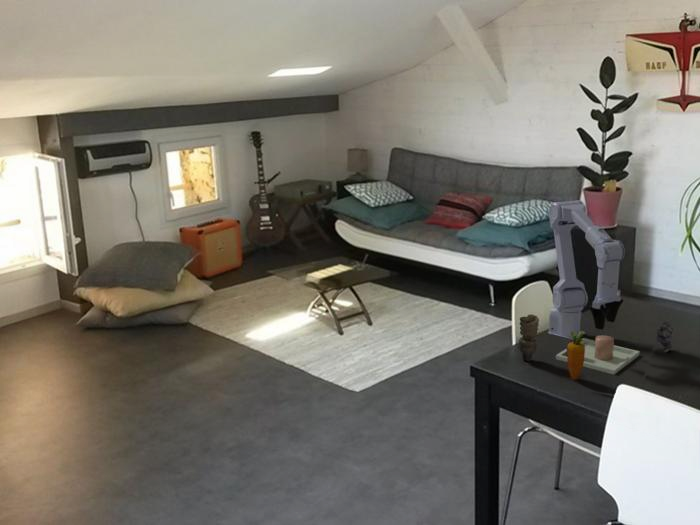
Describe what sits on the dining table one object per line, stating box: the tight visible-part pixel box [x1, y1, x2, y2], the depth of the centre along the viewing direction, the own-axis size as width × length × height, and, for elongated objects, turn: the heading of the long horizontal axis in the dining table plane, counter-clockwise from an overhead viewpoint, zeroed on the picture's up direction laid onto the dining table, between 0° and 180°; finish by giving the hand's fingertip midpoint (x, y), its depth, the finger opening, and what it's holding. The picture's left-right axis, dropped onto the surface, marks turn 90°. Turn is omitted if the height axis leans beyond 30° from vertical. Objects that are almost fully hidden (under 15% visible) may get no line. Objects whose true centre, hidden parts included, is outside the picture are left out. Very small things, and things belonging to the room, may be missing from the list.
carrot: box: [566, 331, 585, 381], centre depth 202 cm, size 5×5×15 cm
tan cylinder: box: [594, 335, 615, 361], centre depth 217 cm, size 5×5×6 cm
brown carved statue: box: [518, 314, 540, 362], centre depth 216 cm, size 6×6×15 cm
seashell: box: [655, 320, 676, 353], centre depth 221 cm, size 5×5×10 cm
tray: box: [555, 337, 640, 375], centre depth 218 cm, size 18×18×2 cm
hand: (605, 325), depth 217 cm, fingers open, 7 cm apart
